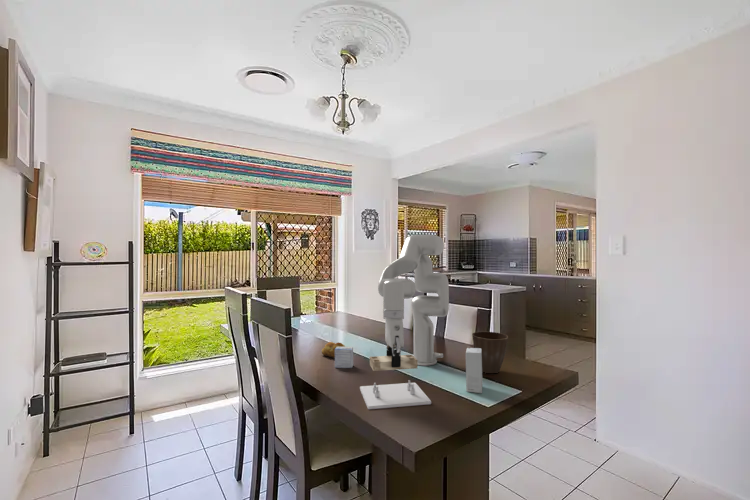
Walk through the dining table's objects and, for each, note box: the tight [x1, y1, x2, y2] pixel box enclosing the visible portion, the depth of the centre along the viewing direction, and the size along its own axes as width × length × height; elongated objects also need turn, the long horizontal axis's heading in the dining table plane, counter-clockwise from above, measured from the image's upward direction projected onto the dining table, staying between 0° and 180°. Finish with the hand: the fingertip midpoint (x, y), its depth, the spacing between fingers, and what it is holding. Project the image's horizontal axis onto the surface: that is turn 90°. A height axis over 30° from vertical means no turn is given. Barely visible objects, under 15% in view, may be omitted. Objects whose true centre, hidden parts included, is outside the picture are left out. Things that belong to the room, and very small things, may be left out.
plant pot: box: [471, 331, 509, 374], centre depth 156 cm, size 15×15×16 cm
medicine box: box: [334, 346, 354, 369], centre depth 163 cm, size 8×4×9 cm, turn 84°
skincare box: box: [465, 347, 484, 394], centre depth 136 cm, size 8×6×15 cm
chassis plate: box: [359, 379, 432, 410], centre depth 129 cm, size 22×18×4 cm
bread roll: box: [321, 341, 346, 359], centre depth 180 cm, size 13×10×8 cm
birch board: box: [369, 354, 418, 372], centre depth 129 cm, size 16×7×3 cm, turn 101°
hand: (393, 363), depth 129 cm, fingers closed on birch board, 7 cm apart
